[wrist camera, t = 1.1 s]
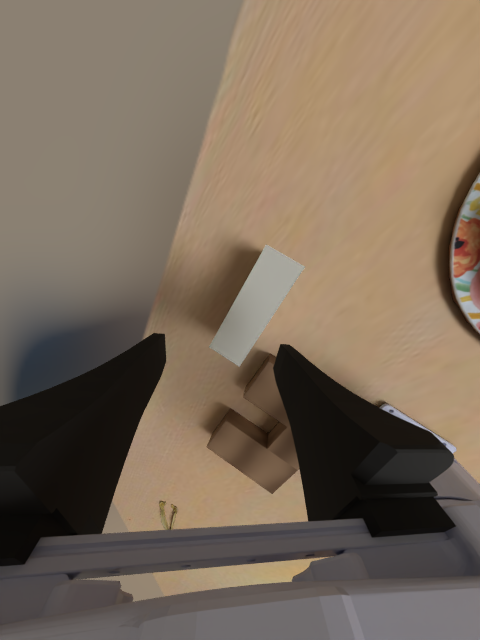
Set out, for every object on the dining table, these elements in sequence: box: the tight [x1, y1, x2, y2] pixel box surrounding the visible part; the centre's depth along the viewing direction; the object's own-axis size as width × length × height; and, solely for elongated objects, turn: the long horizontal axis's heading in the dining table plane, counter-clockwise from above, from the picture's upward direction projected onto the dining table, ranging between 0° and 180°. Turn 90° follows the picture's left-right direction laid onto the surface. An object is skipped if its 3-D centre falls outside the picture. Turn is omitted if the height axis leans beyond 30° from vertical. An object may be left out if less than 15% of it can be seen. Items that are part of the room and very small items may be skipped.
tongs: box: [159, 501, 177, 530], centre depth 38 cm, size 4×13×2 cm, turn 0°
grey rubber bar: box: [209, 245, 305, 367], centre depth 20 cm, size 4×12×6 cm, turn 150°
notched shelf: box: [207, 354, 299, 494], centre depth 25 cm, size 12×18×2 cm, turn 150°
